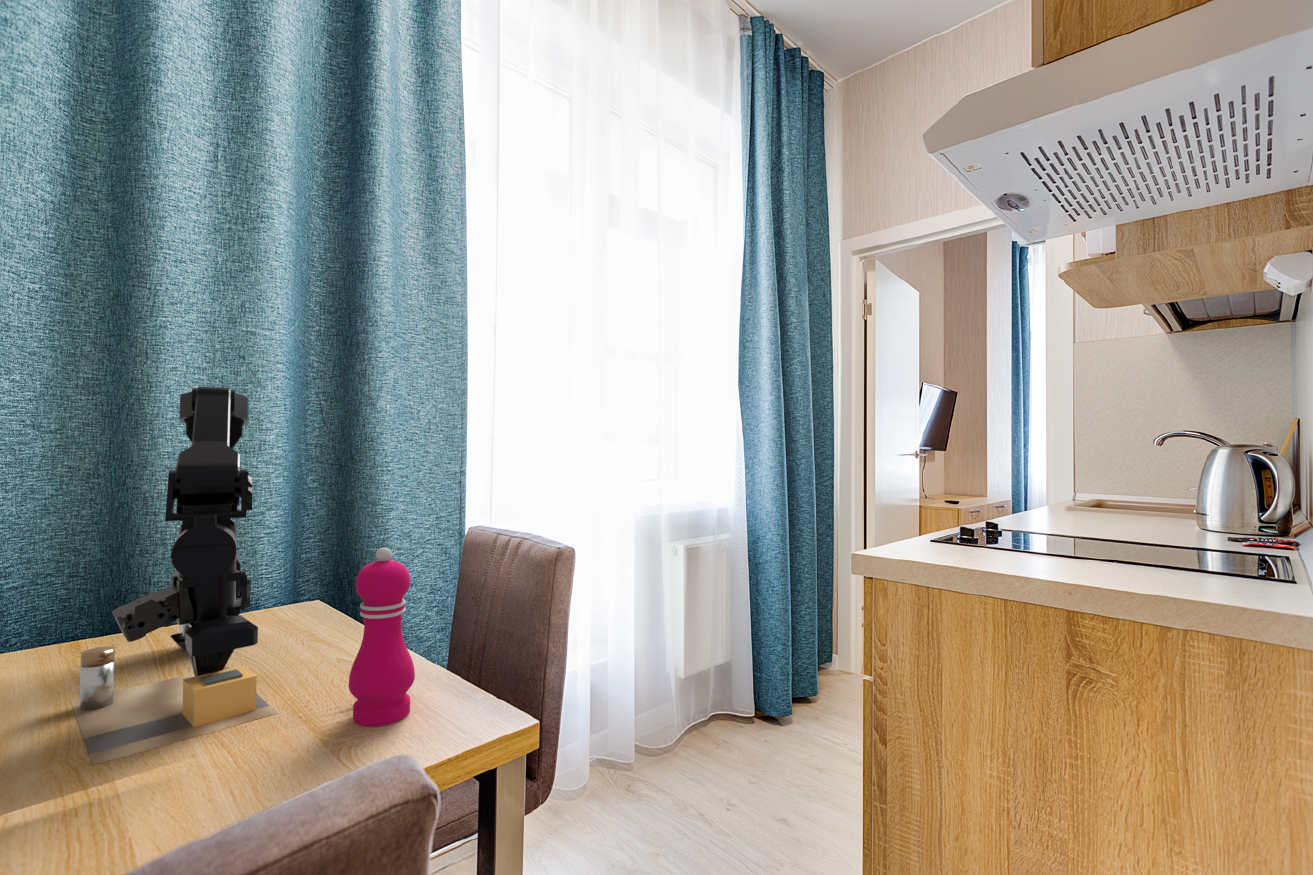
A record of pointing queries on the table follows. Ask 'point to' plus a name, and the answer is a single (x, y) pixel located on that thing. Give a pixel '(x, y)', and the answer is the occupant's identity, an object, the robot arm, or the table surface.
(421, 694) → the table surface
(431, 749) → the table surface
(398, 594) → the pepper mill
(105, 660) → the metal peg
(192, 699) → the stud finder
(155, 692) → the beige flat piece
